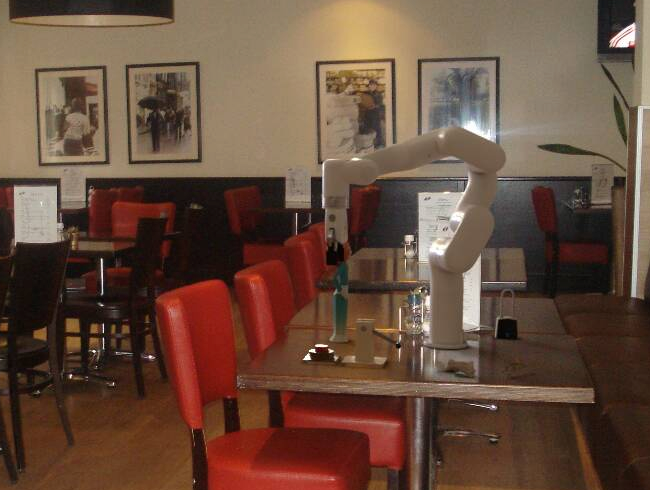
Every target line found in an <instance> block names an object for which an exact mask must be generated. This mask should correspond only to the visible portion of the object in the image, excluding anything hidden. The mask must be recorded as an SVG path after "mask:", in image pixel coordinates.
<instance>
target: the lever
mask: <svg viewBox="0 0 650 490" xmlns="http://www.w3.org/2000/svg"><path fill="white" fill-rule="evenodd" d="M362 321H364V320H362ZM372 333H373V334H374V336H377V337H379V338H381V339H382V340H384V341H386V342H388V343H390V344H392V345H394V346H395V349H397V350H399V349H401V348H402V346H403V345H404V342H403V340H401V339H399V340H396V339H395V338H393V337H390V336H388V335H386V334H384V333H382V332H380V331H378V330H377V329H375V328H374V329H373V332H372Z"/></svg>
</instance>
